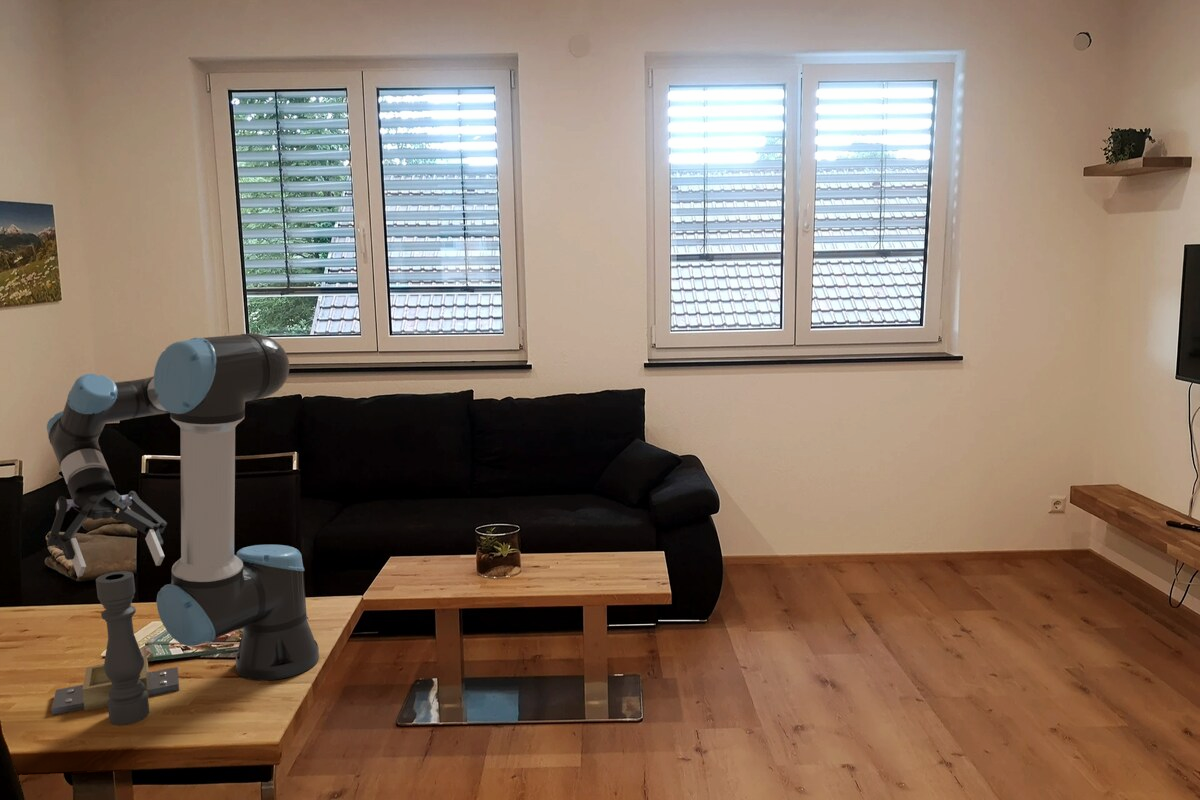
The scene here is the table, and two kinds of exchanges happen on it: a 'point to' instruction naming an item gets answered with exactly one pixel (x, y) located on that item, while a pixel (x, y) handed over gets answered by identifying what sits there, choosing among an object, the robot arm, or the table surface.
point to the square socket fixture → (99, 685)
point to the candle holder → (122, 649)
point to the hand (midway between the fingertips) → (122, 566)
